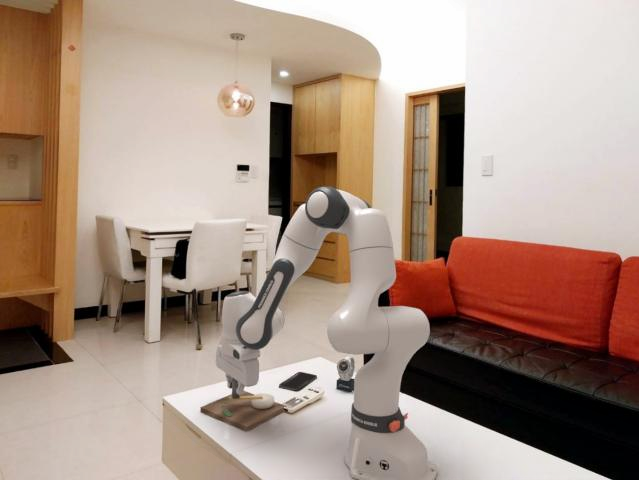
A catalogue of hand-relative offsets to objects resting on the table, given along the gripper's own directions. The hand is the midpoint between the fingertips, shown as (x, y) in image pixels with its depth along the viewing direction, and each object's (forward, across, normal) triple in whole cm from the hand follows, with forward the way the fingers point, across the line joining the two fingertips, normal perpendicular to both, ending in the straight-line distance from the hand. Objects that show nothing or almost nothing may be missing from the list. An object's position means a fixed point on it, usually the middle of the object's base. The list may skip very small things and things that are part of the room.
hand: (235, 390), depth 146 cm
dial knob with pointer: (+5, +1, +5) cm, 7 cm away
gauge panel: (+7, +1, +2) cm, 7 cm away
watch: (+7, +6, +40) cm, 41 cm away
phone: (+7, -8, +30) cm, 31 cm away
